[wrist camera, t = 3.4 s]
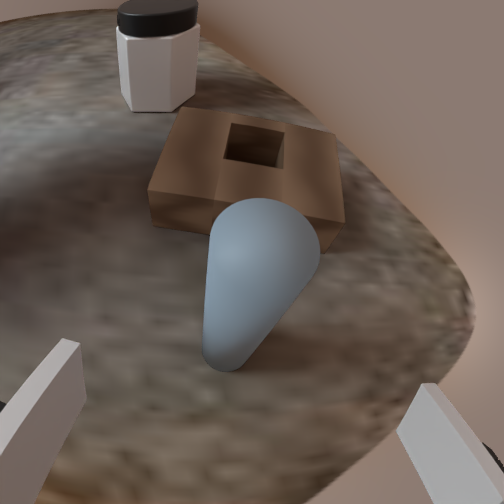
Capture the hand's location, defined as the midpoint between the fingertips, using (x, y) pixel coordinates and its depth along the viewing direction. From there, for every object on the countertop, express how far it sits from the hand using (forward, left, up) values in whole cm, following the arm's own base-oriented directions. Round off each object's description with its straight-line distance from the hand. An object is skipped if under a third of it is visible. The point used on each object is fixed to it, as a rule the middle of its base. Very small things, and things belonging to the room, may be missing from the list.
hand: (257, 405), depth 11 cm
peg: (-1, +4, -10) cm, 11 cm away
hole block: (-1, +18, -10) cm, 21 cm away
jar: (-13, +31, -10) cm, 35 cm away
